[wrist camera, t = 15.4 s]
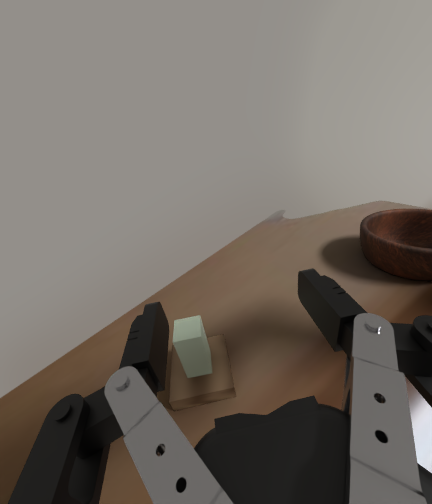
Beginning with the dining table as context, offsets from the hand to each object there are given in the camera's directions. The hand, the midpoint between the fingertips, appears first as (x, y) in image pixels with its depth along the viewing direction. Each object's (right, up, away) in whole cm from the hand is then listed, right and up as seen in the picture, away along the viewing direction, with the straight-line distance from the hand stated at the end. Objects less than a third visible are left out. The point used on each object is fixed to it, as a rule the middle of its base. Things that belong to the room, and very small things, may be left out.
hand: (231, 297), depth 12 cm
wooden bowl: (+53, 0, +48) cm, 71 cm away
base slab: (-3, -21, +30) cm, 36 cm away
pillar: (-4, -19, +28) cm, 34 cm away
